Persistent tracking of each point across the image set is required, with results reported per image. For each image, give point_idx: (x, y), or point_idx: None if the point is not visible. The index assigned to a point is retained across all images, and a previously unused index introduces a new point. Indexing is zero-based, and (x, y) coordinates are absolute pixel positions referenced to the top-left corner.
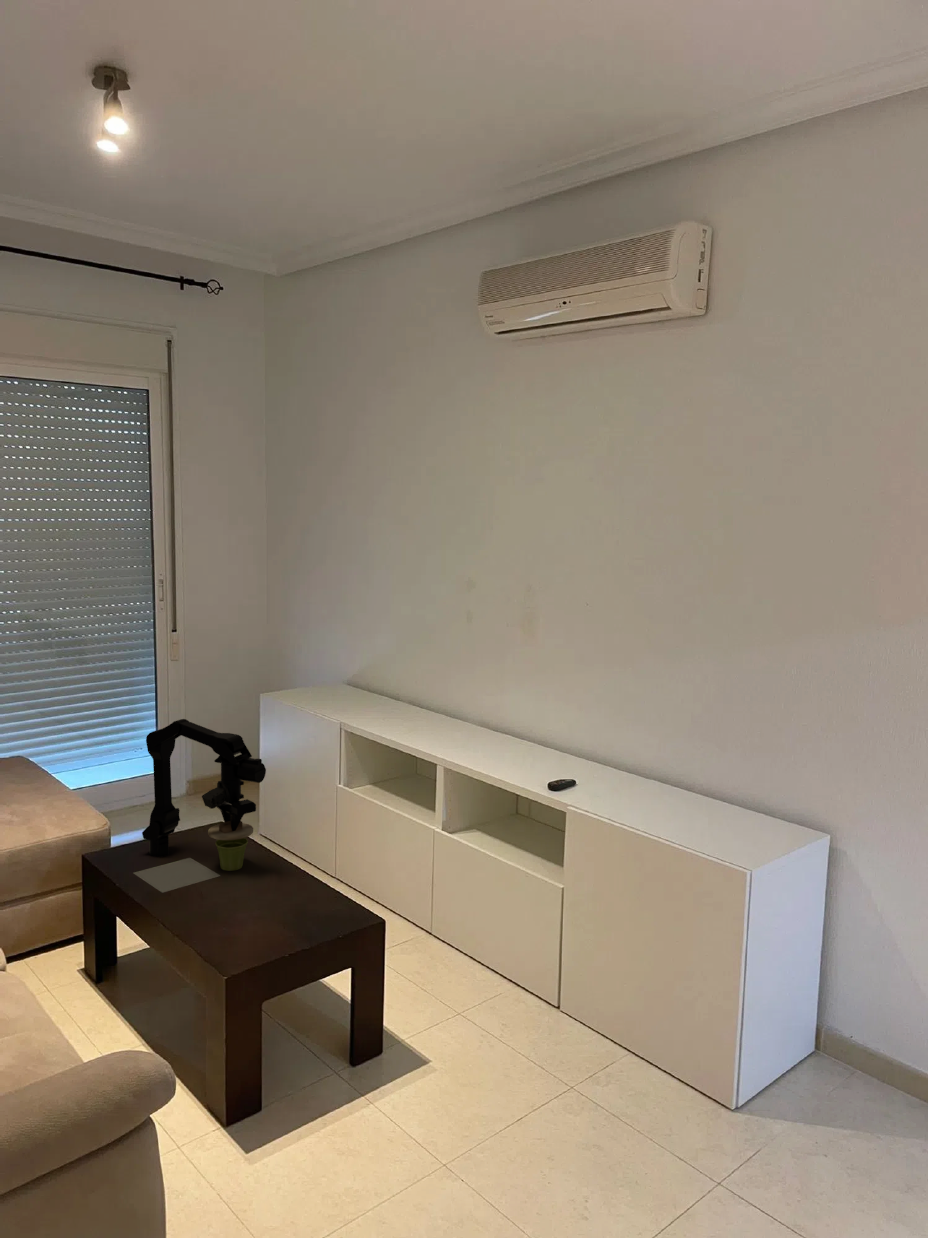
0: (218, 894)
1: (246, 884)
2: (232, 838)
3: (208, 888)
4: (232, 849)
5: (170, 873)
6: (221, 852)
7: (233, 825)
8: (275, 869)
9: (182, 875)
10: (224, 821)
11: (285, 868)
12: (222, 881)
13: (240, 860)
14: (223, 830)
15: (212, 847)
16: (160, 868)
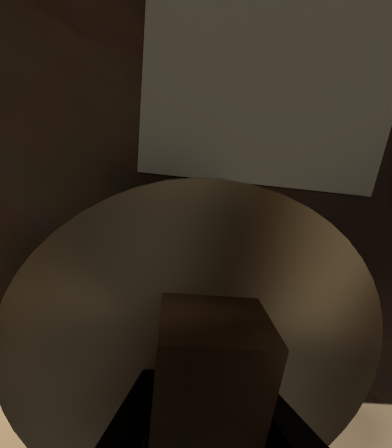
0: (5, 65)
1: (28, 209)
2: (16, 283)
3: (91, 77)
4: None
5: (312, 31)
6: None
7: (110, 430)
8: None
9: (255, 56)
10: (296, 422)
11: None
12: (115, 163)
13: None
14: (178, 308)
15: (383, 312)
16: (388, 36)
